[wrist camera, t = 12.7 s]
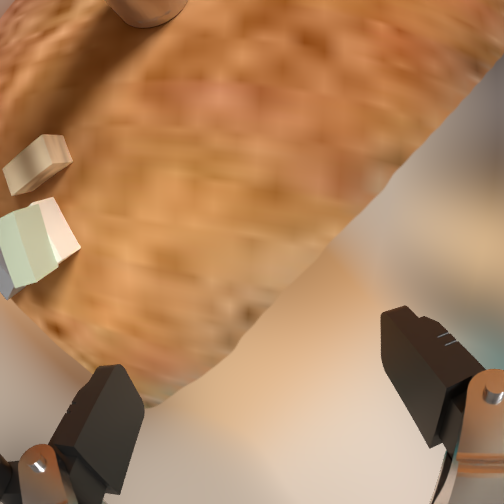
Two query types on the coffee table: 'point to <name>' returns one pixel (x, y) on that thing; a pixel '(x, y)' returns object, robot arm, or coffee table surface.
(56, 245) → the cream brick
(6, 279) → the slate brick
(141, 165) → the coffee table surface
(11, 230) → the sage brick
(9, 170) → the oak brick
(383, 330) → the robot arm
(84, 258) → the coffee table surface
